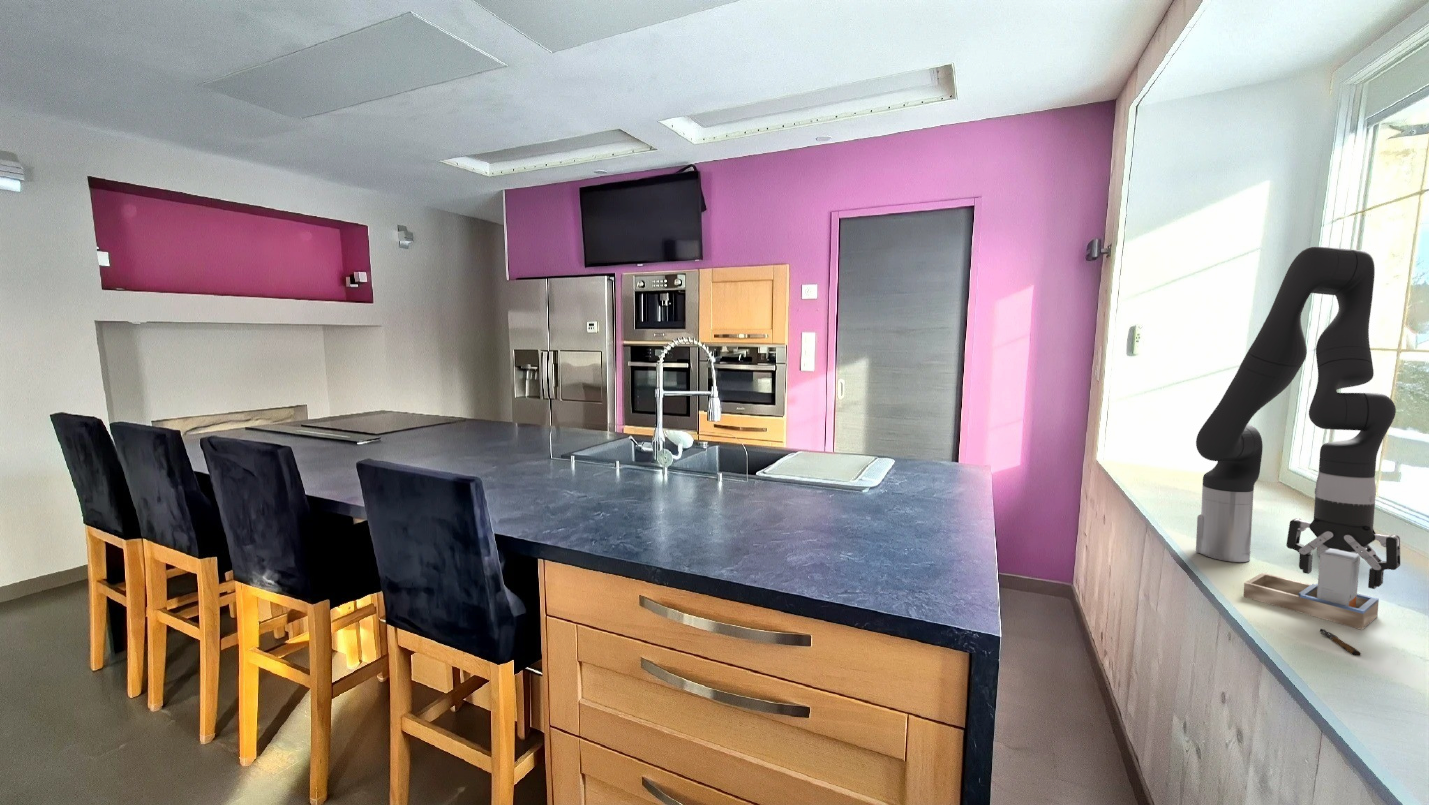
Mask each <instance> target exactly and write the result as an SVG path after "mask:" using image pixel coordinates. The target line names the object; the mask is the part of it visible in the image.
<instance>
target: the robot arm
mask: <svg viewBox="0 0 1429 805" xmlns="http://www.w3.org/2000/svg"><path fill="white" fill-rule="evenodd" d="M1375 269H1376V268H1375V261H1374V258H1373V257H1372V255H1371V254H1370V253H1368V252H1367V251H1364V250H1359V249H1350V248H1338V247H1328V246H1309V247H1307V248H1305V249H1303V250H1301V251H1300V252H1299V253H1298V254H1297V255H1296V256H1295V257H1294V259H1293V261H1291V263H1290V266H1289V267H1288V269H1287V270H1286V272H1285V275H1284V277H1283V280H1282V282H1281V284H1280V287H1279V289H1278V291H1277V294H1276V297H1275V299H1274V300H1273V301H1274V302H1273V303H1272V306H1271V308H1270V310H1269V313H1268V315H1267V316H1266V318H1265V321H1264V322H1263V324H1262V326H1261V328H1260V329H1259V332H1258V333H1257V335H1256V337H1255V338H1254V341H1253V342H1252V343H1251V346H1250V347H1249V349H1248V351H1247V352H1246V354H1245V356H1244V358H1243V359H1242V362H1241V363H1240V365H1239V367H1238V369H1237V371H1236V373H1235V375H1234V376H1233V378H1232V381H1231V382H1230V384H1229V386H1228V388H1227V389H1226V391H1225V393H1224V394H1223V396H1222V398H1221V400H1220V401H1219V403H1217V405H1216V406H1215V408H1214V409H1213V412H1212V413H1211V414H1210V415H1209V417H1208V418H1207V419H1206V421H1205V422H1204V424H1203V425H1202V426H1201V428H1200V430H1199V431H1198V433H1197V435H1196V440H1195V446H1196V450H1197V452H1198V453H1199V455H1200V456H1201V457H1202V458H1204V459H1206V460H1208V461H1212V462H1217V463H1216V464H1215V466H1214V467H1213V468H1212V469H1211V470H1209V471H1207V472H1206V473H1204V474H1203V475H1202V476H1203V477H1202V487H1201V488H1202V489H1201V490H1202V491H1201V492H1202V493H1201V510H1200V514H1199V515H1197V517H1196V537H1195V538H1196V540H1195V541H1196V542H1195V553H1197V554H1201V555H1203V556H1206V557H1209V558H1211V559H1215V560H1220V561H1225V562H1232V563H1246V562H1249V561H1250V559H1251V552H1252V551H1251V545H1252V528H1253V527H1252V526H1253V510H1254V509H1253V508H1254V492H1255V491H1254V490H1255V483H1256V482H1257V481H1258V479H1259V477H1260V473H1261V465H1262V457H1263V449H1264V448H1263V447H1264V445H1263V439H1262V435H1261V433H1260V432H1259V430H1258V429H1257V427H1255V426H1254V425H1251V424H1250V423H1249V422H1250V421H1251V420H1252V418H1254V416H1255V415H1256V413H1258V412H1259V411H1260V410H1261V409H1262V408H1263V407H1264V406H1267V404H1268V403H1270V402H1271V401H1272V400H1274V399H1275V398H1276V397H1277V396H1279V394H1281V393H1282V392H1283V391H1284V390H1285V389H1286V388H1288V386H1289V385H1290V384H1291V383H1292V382H1293V380H1294V379H1295V378H1296V375H1297V374H1298V372H1299V371H1300V370H1301V367H1302V366H1303V364H1304V362H1305V361H1306V358H1307V350H1308V349H1307V343H1306V338H1305V336H1304V335H1305V334H1304V332H1303V328H1302V312H1303V311H1304V308H1305V305H1306V303H1307V300H1308V299H1309V297H1310V295H1311V294H1319V295H1327V296H1328V295H1329V296H1335V298H1336V300H1337V305H1338V312H1337V314H1336V315H1335V317H1334V318H1333V319H1332V321H1331V322H1330V323H1329V324H1328V325H1327V327H1326V328H1325V329H1324V330H1323V331H1322V333H1321V334H1320V336H1319V338H1318V340H1317V342H1316V346H1315V357H1316V366H1317V383H1316V388H1315V392H1314V395H1313V398H1312V400H1311V403H1310V405H1309V409H1308V417H1309V419H1310V421H1311V423H1312V424H1313V425H1314V426H1316V427H1317V428H1319V429H1322V430H1323V429H1324V430H1332V431H1333V430H1339V431H1358V434H1356V435H1355V436H1354V437H1353V438H1350V439H1347V440H1346V439H1345V440H1338V441H1329V442H1325V443H1324V444H1322V445H1321V447H1320V450H1319V459H1318V460H1319V462H1318V472H1317V478H1316V482H1315V488H1314V494H1315V495H1314V510H1313V520H1312V521H1306V520H1302V519H1301V518H1299V517H1297V518H1293V519H1292V520H1290V521H1289V525H1288V526H1289V527H1288V532H1287V538H1286V539H1287V540H1286V543H1285V544H1286V545H1285V546H1286V547H1287V549H1290V550H1294V551H1296V552H1297V553H1299V560H1298V567H1299V569H1300V570H1302V573H1303V574H1307V575H1308V574H1311V573H1312V570H1313V553H1312V551H1314V550H1316V549H1317V547H1318V546H1320V545H1322V544H1323V545H1325V546H1327V548H1331V549H1341V550H1343V551H1346V552H1357V554H1359V555H1360V559H1363V560H1365V561H1366V562H1365V563H1367V564H1368V565H1369V566H1370V568H1369V570H1368V572H1369V573H1368V585H1367V586H1368V589H1372V590H1375V589H1377V588H1379V587H1380V586H1382V585H1383V584H1384V571H1385V570H1391V571H1394V570H1397V569H1399V568H1400V566H1401V538H1400V536H1399V535H1397V534H1391V535H1388V534H1387V535H1386V534H1378V533H1376V532H1375V529H1374V522H1375V509H1376V508H1375V507H1376V497H1377V496H1376V495H1377V494H1376V493H1377V484H1376V478H1375V476H1376V468H1377V467H1376V465H1377V456H1378V453H1379V450H1380V447H1381V445H1382V443H1383V440H1384V438H1385V436H1386V434H1387V432H1388V431H1389V429H1390V427H1391V426H1392V423H1393V422H1394V419H1395V417H1396V413H1397V408H1396V405H1395V403H1394V401H1393V400H1392V399H1391V398H1390V397H1389V396H1387V395H1386V394H1383V393H1379V392H1377V393H1376V392H1338V390H1341V389H1347V388H1353V387H1357V386H1358V387H1359V386H1361V385H1364V384H1367V383H1369V382H1370V381H1371V380H1373V378H1374V376H1375V374H1374V372H1375V371H1374V365H1373V359H1372V352H1371V351H1372V350H1371V345H1370V336H1369V333H1370V332H1369V331H1370V318H1371V313H1372V312H1371V311H1372V305H1373V295H1374V284H1375V277H1376V276H1375V273H1376V272H1375ZM1307 528H1309V530H1310V531H1311V532H1312V533H1313V534H1314V536H1315V538H1314V539H1312V540H1311V541H1310V542H1308V543H1307V544H1306V545H1304V544H1302V543H1300V541H1301V534H1302V532H1304V531H1306V529H1307ZM1375 541H1378V542H1379V543H1380V545H1381V547H1383V548H1385V551H1386V552H1385V559H1386V560H1382V559H1381V557H1379V556H1378V555H1377V553H1376V551H1375V550H1374V549H1373V548H1372V546H1370V544H1371V543H1373V542H1375Z"/></svg>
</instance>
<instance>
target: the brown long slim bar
mask: <svg viewBox="0 0 1429 805" xmlns="http://www.w3.org/2000/svg"><path fill="white" fill-rule="evenodd" d="M1319 632H1320V634H1321V635H1322V636H1325V637H1328V638H1330V640H1331V641H1332V642H1333V643H1335V644H1336V645H1339V647H1341V648H1342V649H1344V650H1345V651H1346V652H1348V653H1350V654H1351V655H1353V656H1355V657H1356V656H1357V657H1360V656H1361V654H1362V653H1361V652H1360V651H1359V650H1358V649H1356V648H1355V647H1354V646H1352V645H1350V644H1348V643H1346V642H1345V641H1343V640H1342V639H1340V638H1339V637H1338V636H1336V635H1335V634H1333V633H1332V632H1329V631H1327V630H1326V629H1325V628H1324V629H1323V628H1320V630H1319Z"/></svg>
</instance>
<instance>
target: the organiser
mask: <svg viewBox="0 0 1429 805" xmlns="http://www.w3.org/2000/svg"><path fill="white" fill-rule="evenodd" d="M1317 588H1318V583H1316V584H1314V583H1312V584H1309V583H1307V582H1302V581H1298V580H1295V579H1294V580H1293V579H1290V578H1285V577H1281V576H1277V575H1273V574H1269V573H1267V572H1266V573H1265V572H1261V573H1259V574H1257V575H1255V576H1253V577H1252V578H1250V579H1249V580H1246V581H1245V582H1244V583H1243V596H1244V598H1246V599H1250V598H1251V599H1252V600H1255V601H1257V602H1262V603H1265V604H1269V605H1272V606H1276V607H1280V608H1283V609H1286V610H1290V611H1294V612H1298V613H1299V614H1300V613H1301V614H1304V615H1308V616H1312V617H1315V618H1319V619H1322V620H1327V621H1329V622H1333V623H1336V624H1340V625H1344V626H1348V627H1351V628H1354V629H1359V630H1361V631H1363V630H1364V629H1365V628H1366V627H1368V625H1370V623H1371V622H1373V621H1374V620H1375V619H1376V618H1377V617H1378V614H1379V613H1378V612H1379V600H1380V599H1379V598H1377V597H1374V596H1373V597H1372V596H1369V595H1365V594H1361V593H1358V592H1357V599H1356V608H1354V607H1350V606H1346V605H1343V604H1339V603H1335V602H1331V601H1327V600H1323V599H1319V598H1317Z"/></svg>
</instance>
